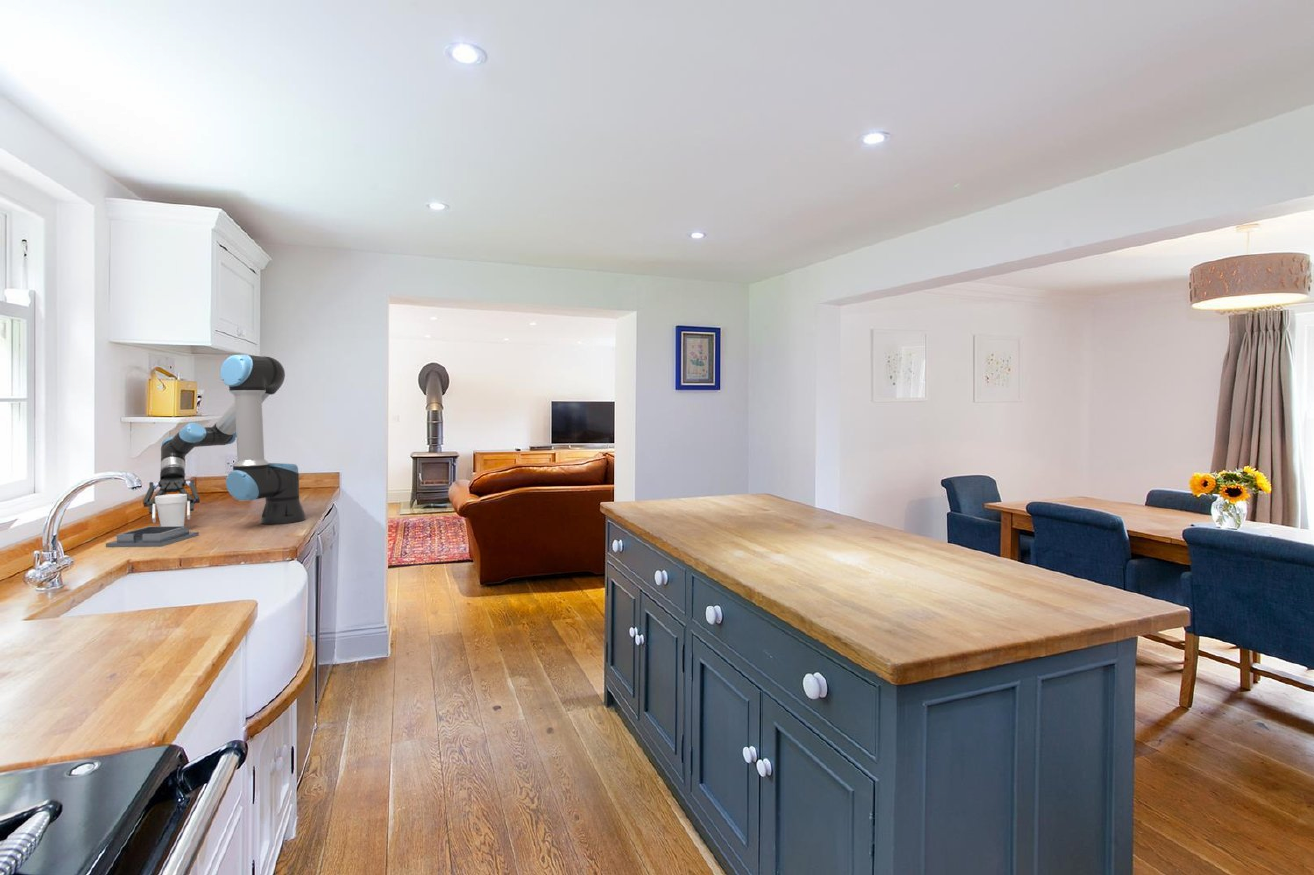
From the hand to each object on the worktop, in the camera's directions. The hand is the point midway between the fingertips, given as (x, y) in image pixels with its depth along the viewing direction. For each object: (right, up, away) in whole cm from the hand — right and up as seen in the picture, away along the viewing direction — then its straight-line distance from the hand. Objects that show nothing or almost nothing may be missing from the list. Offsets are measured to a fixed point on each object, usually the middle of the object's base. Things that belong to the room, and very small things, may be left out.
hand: (171, 518), depth 237 cm
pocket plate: (+5, -6, -14) cm, 16 cm away
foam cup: (-2, -5, +3) cm, 6 cm away
